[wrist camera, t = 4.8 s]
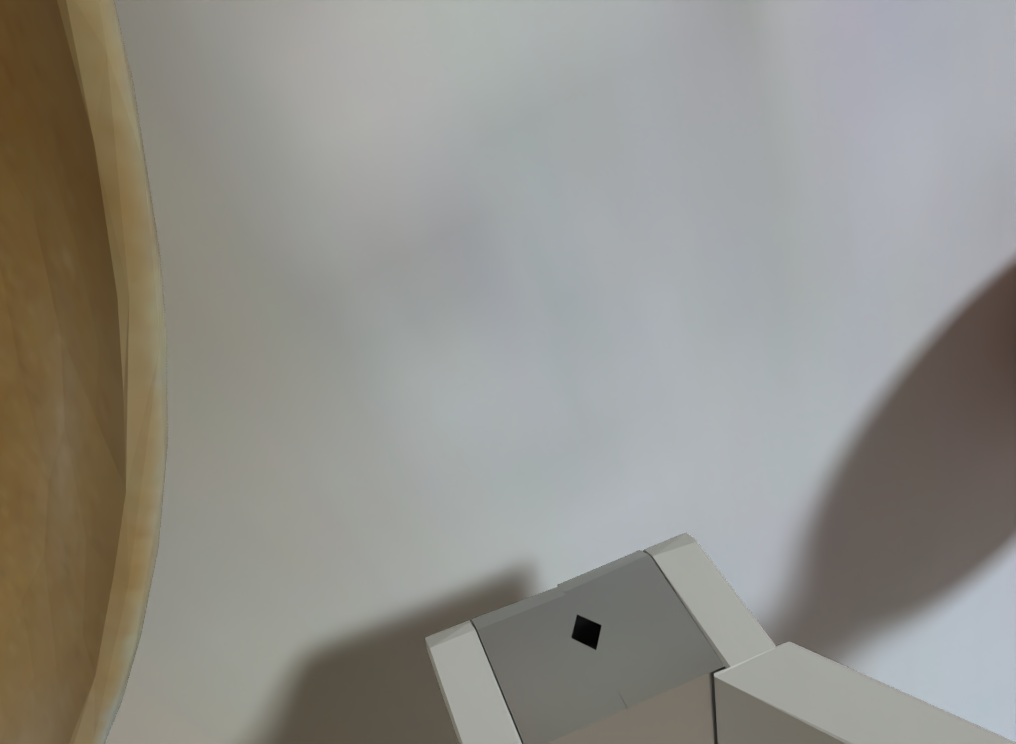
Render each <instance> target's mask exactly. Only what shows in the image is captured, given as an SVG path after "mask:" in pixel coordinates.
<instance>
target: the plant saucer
mask: <svg viewBox="0 0 1016 744" xmlns="http://www.w3.org/2000/svg"><path fill="white" fill-rule="evenodd" d="M167 448H168V414H167V337H166V324H165V311H164V298H163V285H162V272H161V259H160V250H159V244H158V237H157V231H156V224H155V218H154V212H153V205H152V199H151V192H150V186H149V180H148V173H147V167H146V161H145V154H144V148H143V141H142V135H141V129H140V122H139V116H138V109H137V103H136V97H135V90H134V84H133V80H132V76H131V71H130V67H129V63H128V59H127V54H126V50H125V46H124V42H123V38H122V33H121V29H120V25H119V21H118V16H117V12H116V8H115V4H114V0H0V744H105V741H106V739H107V736H108V734H109V731H110V729H111V726H112V724H113V722H114V719H115V717H116V714H117V712H118V709H119V707H120V704H121V702H122V699H123V695H124V692H125V688H126V685H127V682H128V678H129V675H130V671H131V668H132V664H133V661H134V657H135V654H136V650H137V647H138V644H139V640H140V637H141V633H142V628H143V623H144V618H145V613H146V607H147V602H148V597H149V592H150V587H151V582H152V577H153V572H154V567H155V562H156V557H157V552H158V546H159V535H160V524H161V513H162V502H163V492H164V481H165V470H166V459H167Z"/></svg>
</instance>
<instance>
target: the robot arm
mask: <svg viewBox="0 0 1016 744" xmlns="http://www.w3.org/2000/svg"><path fill="white" fill-rule="evenodd" d="M425 641H426V646H427V651H428V655H429V657H430V660H431V663H432V666H433V669H434V672H435V675H436V678H437V681H438V684H439V687H440V690H441V693H442V695H443V698H444V701H445V704H446V707H447V710H448V713H449V716H450V719H451V722H452V725H453V728H454V730H455V733H456V736H457V739H458V742H459V744H1016V742H1014V741H1011V740H1009V739H1007V738H1005V737H1002V736H1000V735H998V734H996V733H994V732H991V731H989V730H987V729H985V728H982V727H980V726H978V725H976V724H973V723H971V722H969V721H967V720H964V719H962V718H960V717H958V716H956V715H953V714H951V713H949V712H947V711H944V710H942V709H940V708H938V707H935V706H933V705H931V704H929V703H926V702H924V701H922V700H920V699H918V698H915V697H913V696H911V695H909V694H906V693H904V692H902V691H900V690H897V689H895V688H893V687H891V686H889V685H886V684H884V683H882V682H880V681H877V680H875V679H873V678H871V677H868V676H866V675H864V674H862V673H859V672H857V671H855V670H853V669H851V668H848V667H846V666H844V665H842V664H839V663H837V662H835V661H833V660H830V659H828V658H826V657H824V656H821V655H819V654H817V653H815V652H813V651H810V650H808V649H806V648H804V647H801V646H799V645H797V644H795V643H792V642H790V641H788V642H785V643H783V644H780V645H778V646H776V645H775V644H774V643H773V641H772V640H771V639H770V637H769V636H768V635H767V633H766V632H765V631H764V629H763V628H762V627H761V625H760V624H759V623H758V621H757V620H756V619H755V617H754V616H753V615H752V613H751V612H750V611H749V609H748V608H747V607H746V605H745V604H744V603H743V601H742V600H741V599H740V597H739V596H738V595H737V593H736V592H735V591H734V589H733V588H732V587H731V585H730V584H729V583H728V581H727V580H726V579H725V577H724V576H723V575H722V574H721V572H720V571H719V570H718V568H717V567H716V566H715V564H714V563H713V562H712V560H711V559H710V558H709V556H708V555H707V554H706V552H705V551H704V550H703V548H702V547H701V546H700V544H699V543H698V542H697V540H696V539H695V538H694V537H692V536H691V535H689V534H687V533H684V534H681V535H678V536H676V537H674V538H671V539H669V540H666V541H664V542H661V543H659V544H657V545H654V546H652V547H649V548H647V549H644V550H643V551H640V550H639V551H637V552H634V553H632V554H629V555H627V556H625V557H622V558H620V559H618V560H615V561H613V562H610V563H608V564H606V565H603V566H601V567H599V568H596V569H594V570H591V571H589V572H587V573H584V574H582V575H580V576H577V577H575V578H573V579H570V580H568V581H565V582H563V583H561V584H558V586H557V587H556V588H553V589H550V590H548V591H545V592H542V593H540V594H537V595H534V596H532V597H529V598H526V599H524V600H521V601H518V602H516V603H513V604H510V605H508V606H505V607H502V608H500V609H497V610H494V611H492V612H489V613H486V614H484V615H481V616H478V617H476V618H473V619H472V623H471V621H470V620H468V621H466V622H463V623H461V624H458V625H455V626H453V627H450V628H448V629H445V630H443V631H440V632H438V633H435V634H433V635H430V636H428V637H425Z"/></svg>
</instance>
